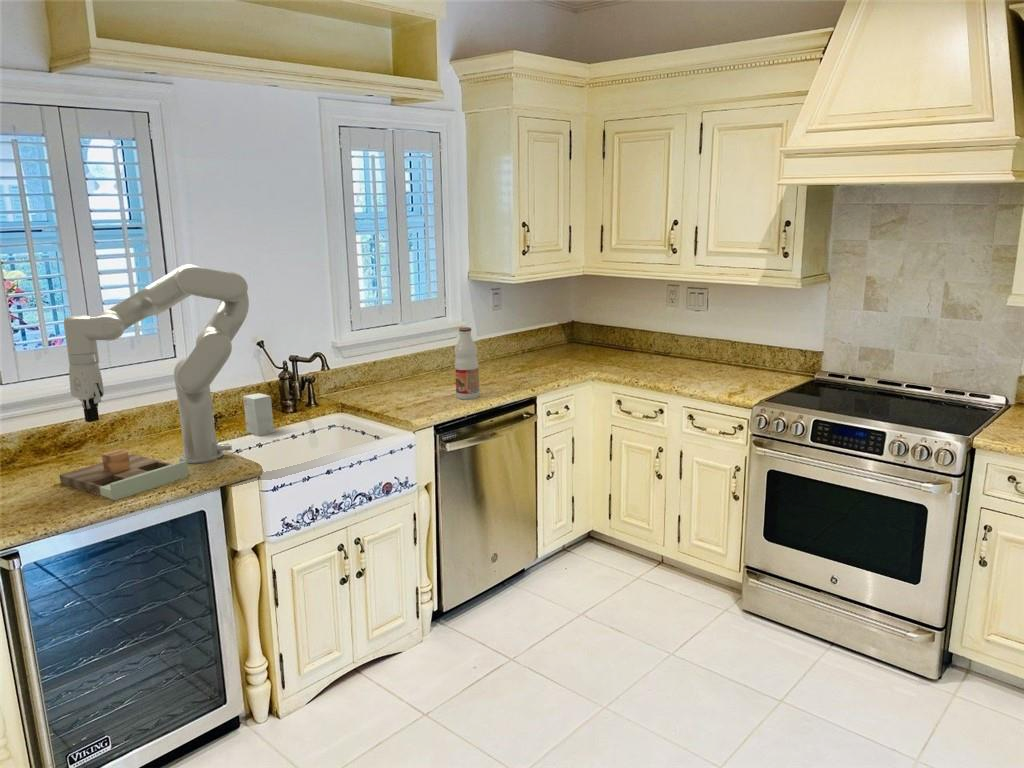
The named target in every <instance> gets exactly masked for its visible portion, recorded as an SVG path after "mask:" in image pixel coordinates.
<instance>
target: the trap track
mask: <svg viewBox="0 0 1024 768" xmlns="http://www.w3.org/2000/svg"><path fill="white" fill-rule="evenodd" d="M128 455H129V462H130V469H127V470H123V471H120V472H117V473H111V472H107V471H104V467H103V462H100V463H96V464H93V465H90V466H89V465H88V466H86V467H82V468H78V469H75V470H72V471H68V472H66V473H61V474H59V480H60V484H61V485H65V484H66V486H68V485H69V487H71V486H72V487H71V488H74V487H76V488H75V489H77V488H79V489H78V490H81V489H83V490H82V491H84V490H86V491H85V492H87V491H89V492H88V493H90V492H93V493H96V494H99V495H98V496H100V495H101V493H100V487H102V486H105V485H108V484H110V483H113V482H116V481H119V480H123V479H126V478H129V477H132V476H136V475H139V474H142V473H145V472H149V471H152V470H155V469H158V468H161V467H165V466H168V465H171V464H172V463H170V462H165V461H161V460H157V459H154V458H149V457H146V456H142V455H138V454H134V453H131V454H128ZM93 493H92V494H93ZM96 494H95V495H96Z"/></svg>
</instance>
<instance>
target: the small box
mask: <svg viewBox="0 0 1024 768" xmlns="http://www.w3.org/2000/svg"><path fill="white" fill-rule="evenodd" d="M242 399H243V409H244V418H245V425H246V427H245V429H246V433H248V434H252V435H254V436H257V437H261V436H264V435H267V434H272V433H274V432H275V424H274V414H273V405H272V396H271V395H268V394H264V393H260V392H258V393H252V394H247V395H243V396H242Z"/></svg>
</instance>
